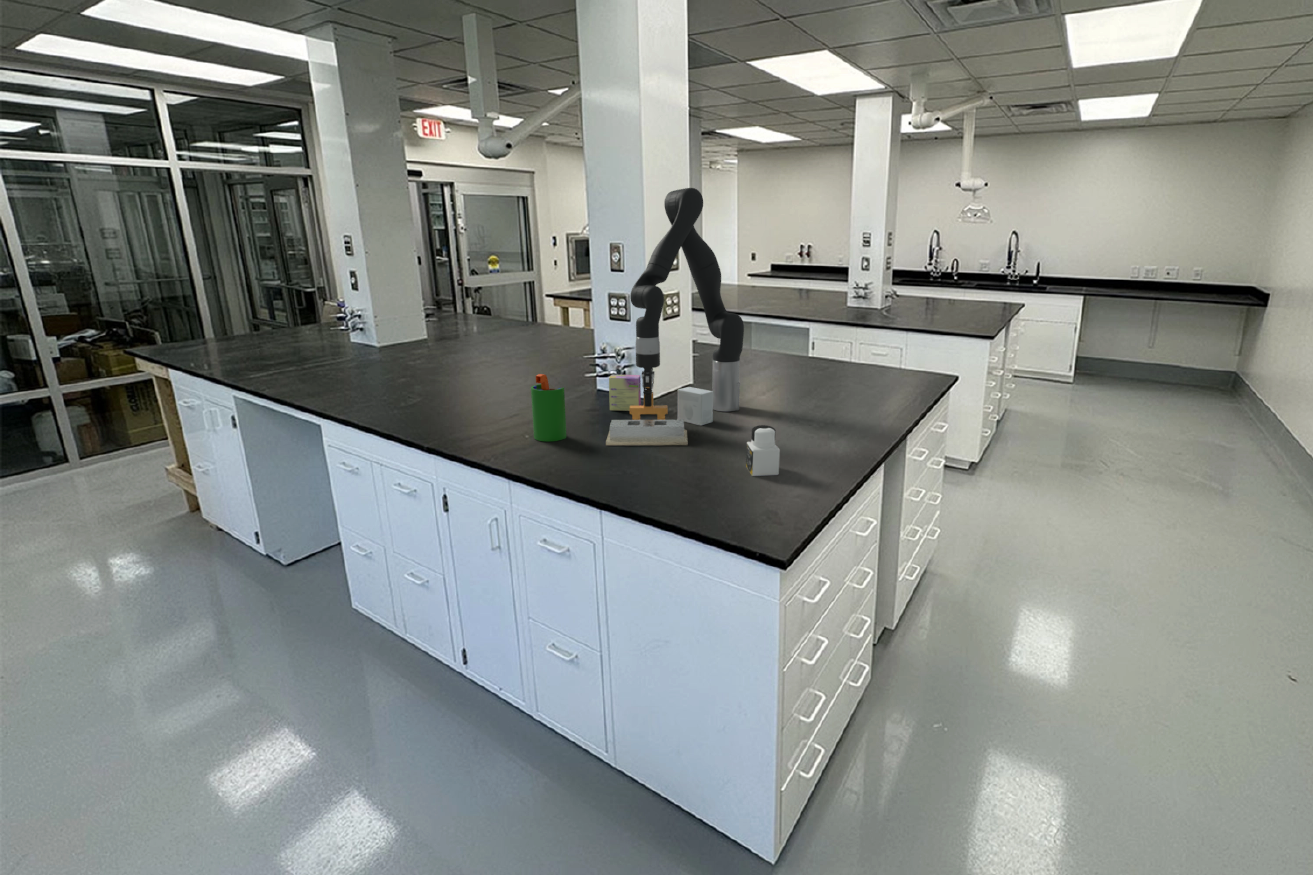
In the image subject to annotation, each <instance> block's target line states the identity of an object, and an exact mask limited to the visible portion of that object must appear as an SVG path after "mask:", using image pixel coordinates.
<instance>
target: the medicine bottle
mask: <svg viewBox="0 0 1313 875" xmlns="http://www.w3.org/2000/svg"><path fill="white" fill-rule="evenodd" d="M776 432H777V431H776V428H774V427H773V426H771V425H766V424H764V425H763V424H761V425H760V424H759V425H756V426H754V427H752V428H751V441H747V442H746V450H745V451H746V452H745V453H746V454H745V455H746V456H745V458H746V459H745V466H746V469H747V470H748V472H749V473H750V476H751V477H760V476H761V477H762V476H763V477H764V476H765V477H766V476H778V475H779V473H780V453H781V449H780V448H779V446H778V445H776Z"/></svg>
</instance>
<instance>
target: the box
mask: <svg viewBox="0 0 1313 875" xmlns="http://www.w3.org/2000/svg"><path fill="white" fill-rule="evenodd" d="M641 381H642V380H641V375H640V374H610V376H609V377H608V391H609V392H608V396H609V411H623V412H625V411H626V412H630V406H642V403H641V402H642V401H641V399H642V398H641V397H642V396H641V395H642V394H641V392H642V389H641V386H642V384H641Z"/></svg>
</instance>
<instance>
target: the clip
mask: <svg viewBox="0 0 1313 875" xmlns="http://www.w3.org/2000/svg"><path fill="white" fill-rule="evenodd" d="M668 410H669V409H668V405H654V391H652V406H651V407H646V406H645V401H644V400H643V405H641V406H630V411H629V415H631V416H632V417H631V420H641V415H656V416H657V419H656V420H666V415H668V414H669V413H668Z"/></svg>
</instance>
